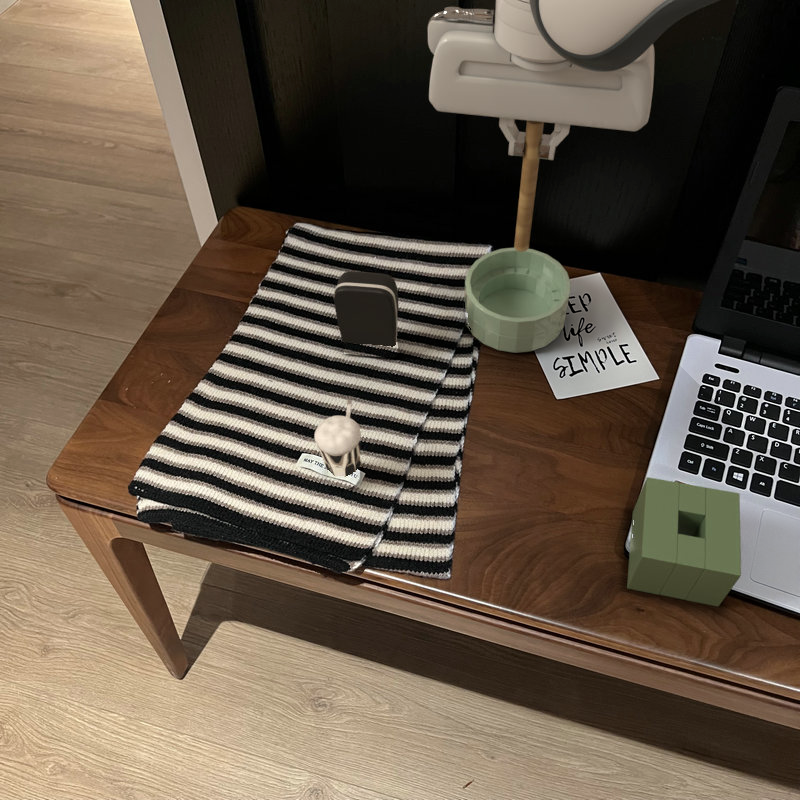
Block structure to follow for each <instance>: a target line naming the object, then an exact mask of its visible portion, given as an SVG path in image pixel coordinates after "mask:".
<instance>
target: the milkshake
mask: <svg viewBox="0 0 800 800" xmlns="http://www.w3.org/2000/svg"><path fill="white" fill-rule="evenodd" d="M352 403H353V401H352V400H351V399H347V401H346V411H345V415H332V416H329V417H327V418H325V419H324V420H322V422H320V423H319V424H318V426H317V427H316V429H315V431H314V442H315V444H316V447H317V448H318V451H319V454H320V456H321V458H322V460H323V463H324V466H325V469H326V471H327V470H329V471H330V472H331V473H332V474H333V475H334V476H344V477H346V476H348V475H350V474H352V473H353V472H356V470H357V469H358V468H359V466H360V465H361V466H362V463H361V461H362V460H361V439H362V438H361V437H362V436H361V435H362V433H361V432H362V431H361V428H360V426H359V423H357V422H356V421H355V420H354V419H353V418H352V417H351V414H352V413H351V412H352Z"/></svg>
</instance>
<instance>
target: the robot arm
mask: <svg viewBox="0 0 800 800" xmlns="http://www.w3.org/2000/svg"><path fill="white" fill-rule="evenodd" d="M719 1H721V0H495V9H486V8H485V9H484V8H461V7H459V6H447V7H444V10H442V11H439V12H436V13H435V14H433V15H432V16H431V17H430V19H429V21H428V23H427V45H428V48H429V50H430V53H432V55H433V58H432V63H431V70H430V76H429V88H428V100H429V102H430V104H431V105H432V107H433V108H434V109H435V110H436V111H437V112H441V113H452V114H462V115H471V116H482V117H491V118H498V119H499V121H498V127H499V128H500V130H501V132H502V133H503V135H504V137H505V138H506V140H507V142H508V143H509V144H508V153H507V154H508V156H511V157H512V156H513V157H522V158H523V156H524V146H525V135H526V131H519V129H518V127H517V125H516V120H519V121H527V120H528V121H538V122H544V123H548V124H554V130H553V131H552V133H551V134H545V133H542V141H541V144H540V152H539V160H540V159H541V160H549V161H554V159H555V154H556V151H557V150H556V149H557V147H558V146H559V145H560V144H561V142H563V140H565V138H566V137H567V136H568V135H569V133H570V129H571V126H578V127H586V128H588V127H590V128H597V129H607V130H617V131H618V130H619V131H625V132H637V131H639V130H641V129H642V128H643V127H644V126H646V125H647V124H648V122H649V119H650V113H651V108H652V99H653V92H654V81H655V80H654V79H655V61H656V56H655V55H656V54H655V53H656V52H655V46H654V43H655V42H656V41H657V40H658V39H659V38H660V37H661V36H662V35H663V34H664V33H665V32H666V31H667V30H668V29H669V28H671V27H672V25H674V24H676V23H677V22H678V21H680V20H681V19H683V18H685V17H686V16H689V15H690V14H692V13H694V12H696V11H698V10H700V9H702V8H706V7H707V6H709V5H710V6H711V5H712V4H715V3H717V2H719Z"/></svg>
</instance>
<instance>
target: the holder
mask: <svg viewBox="0 0 800 800" xmlns="http://www.w3.org/2000/svg"><path fill="white" fill-rule="evenodd" d="M740 496H741V495H740V493H739V492H734V491H729V490H722V489H717V488H711V487H704V486H699V485H693V484H687V483H683V482H678V481H673V480H672V481H671V480H665V479H660V478H654V477H649V476H648V477H646V479H645V480H644V483H643V485H642V488H641V490H640V493H639V496H638V497H637V501H636V503H635V505H634V508H633V511H632V515H631V528H630V540H629V541H630V542H629V554H628V555H629V556H628V571H627V582H626V583H627V585H626V588H627V589H629V590H633V591H639V592H643V593H649V594H653V595H658V596H664V597H667V598H674V599H679V600H682V601H683V600H684V601H688V602H693V603H698V604H703V605H708V606H713V607H719V606H720V605H721V604H722V603H723V601H724V600H725V598H727V596H728V594H729V593H730V591H731V590H732V589H733V587H734V586H736V585H735V584H736V583H738V581H739V579H740V578H741V576H742V556H741V555H742V554H741V552H742V551H741V548H742V547H741V502H740V498H741V497H740ZM633 520H634V525H633ZM632 534H633V538H632Z"/></svg>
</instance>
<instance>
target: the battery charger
mask: <svg viewBox="0 0 800 800" xmlns="http://www.w3.org/2000/svg"><path fill="white" fill-rule="evenodd" d="M333 301H334V302H333V303H334V309H335V316H336V321H337V325H338V329H339V333H340V338H341V343H342V342H344V343H346V342H347V343H353V344H355V343H356V344H372V345H383V346H391V347H393V346H395V345H396V342H397V336H398V313H399V293H398V286H397V282H396V280H395V279H394V278H393V277H392V275H389V274H387V273H379V272H369V271H353V270H351V271H345V272H343V273H342V274H341V275H340V276H339V278H338V280H337V284H336V286H335V288H334V291H333ZM398 337H399V336H398Z"/></svg>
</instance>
